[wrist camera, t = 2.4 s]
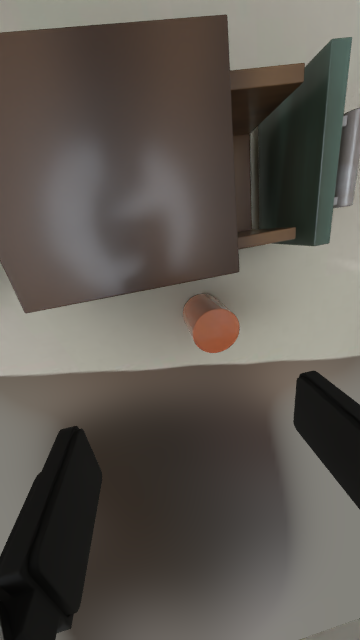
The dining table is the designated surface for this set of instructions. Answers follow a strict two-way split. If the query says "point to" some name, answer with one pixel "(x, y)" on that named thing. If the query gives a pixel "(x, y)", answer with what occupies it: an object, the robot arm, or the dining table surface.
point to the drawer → (295, 147)
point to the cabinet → (116, 159)
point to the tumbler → (210, 323)
